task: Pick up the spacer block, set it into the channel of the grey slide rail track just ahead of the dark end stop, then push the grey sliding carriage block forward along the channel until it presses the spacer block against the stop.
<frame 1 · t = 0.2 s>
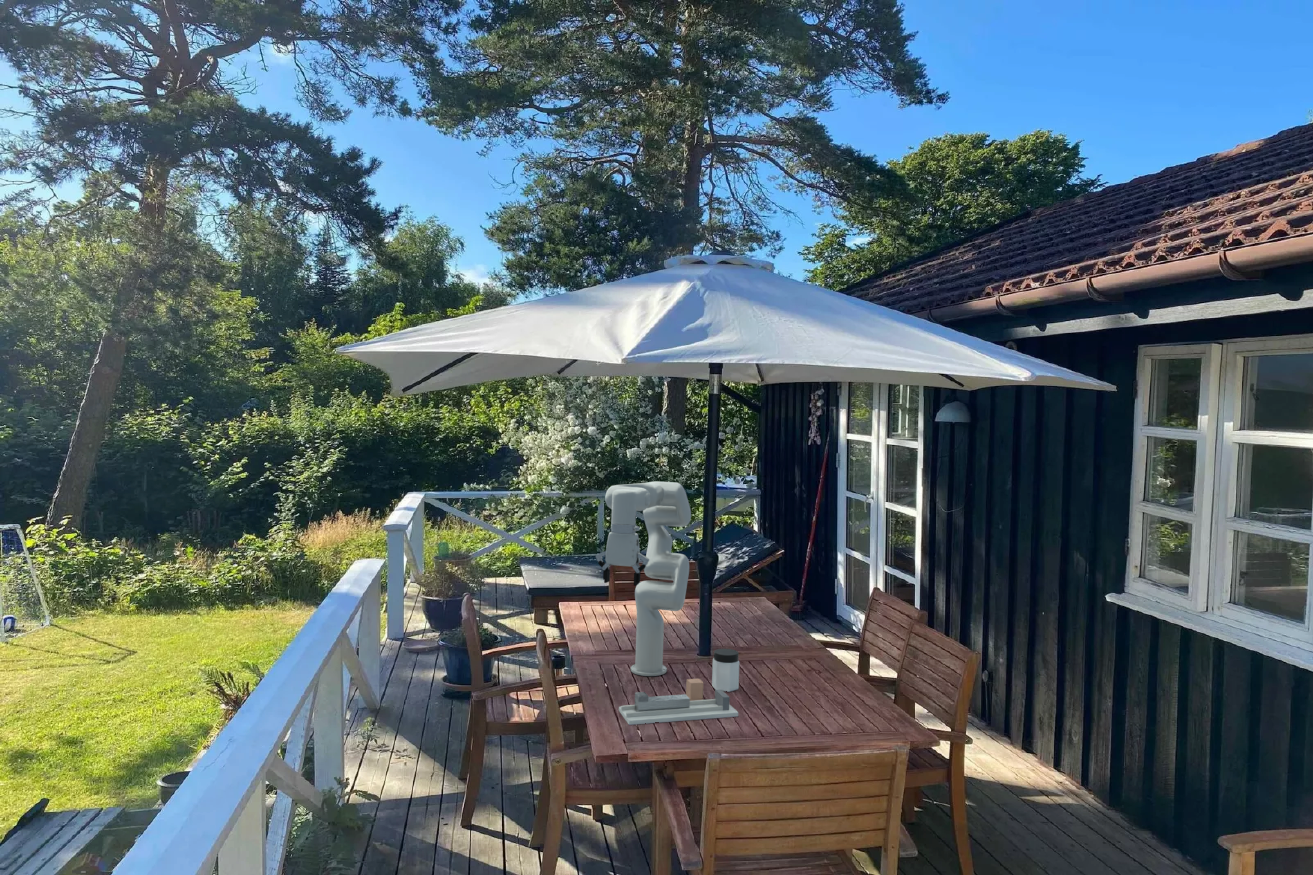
hand: (621, 583, 268), 37 cm above the table, tool pointing down, fingers open, 9 cm apart
jar: (725, 688, 285), on the table
grey sliding carriage block: (662, 701, 258), point 4 cm above the table, slide at 0.0 cm
spacer: (694, 699, 272), on the table
grey slide rail track: (678, 713, 259), on the table
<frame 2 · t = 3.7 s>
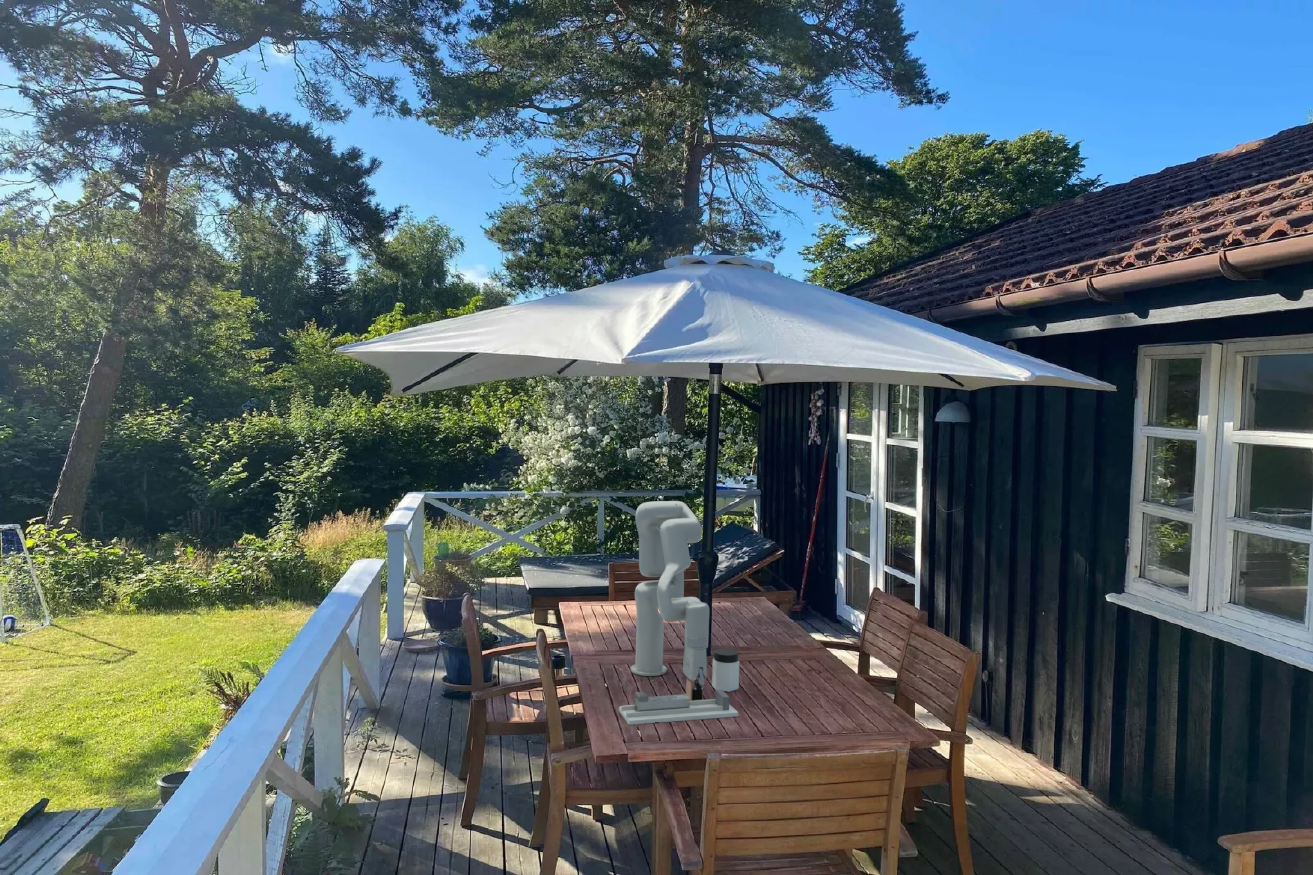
hand: (694, 698, 272), 0 cm above the table, tool pointing down, fingers closed on spacer, 4 cm apart
spacer: (694, 699, 272), on the table, touching gripper
everything else where it was.
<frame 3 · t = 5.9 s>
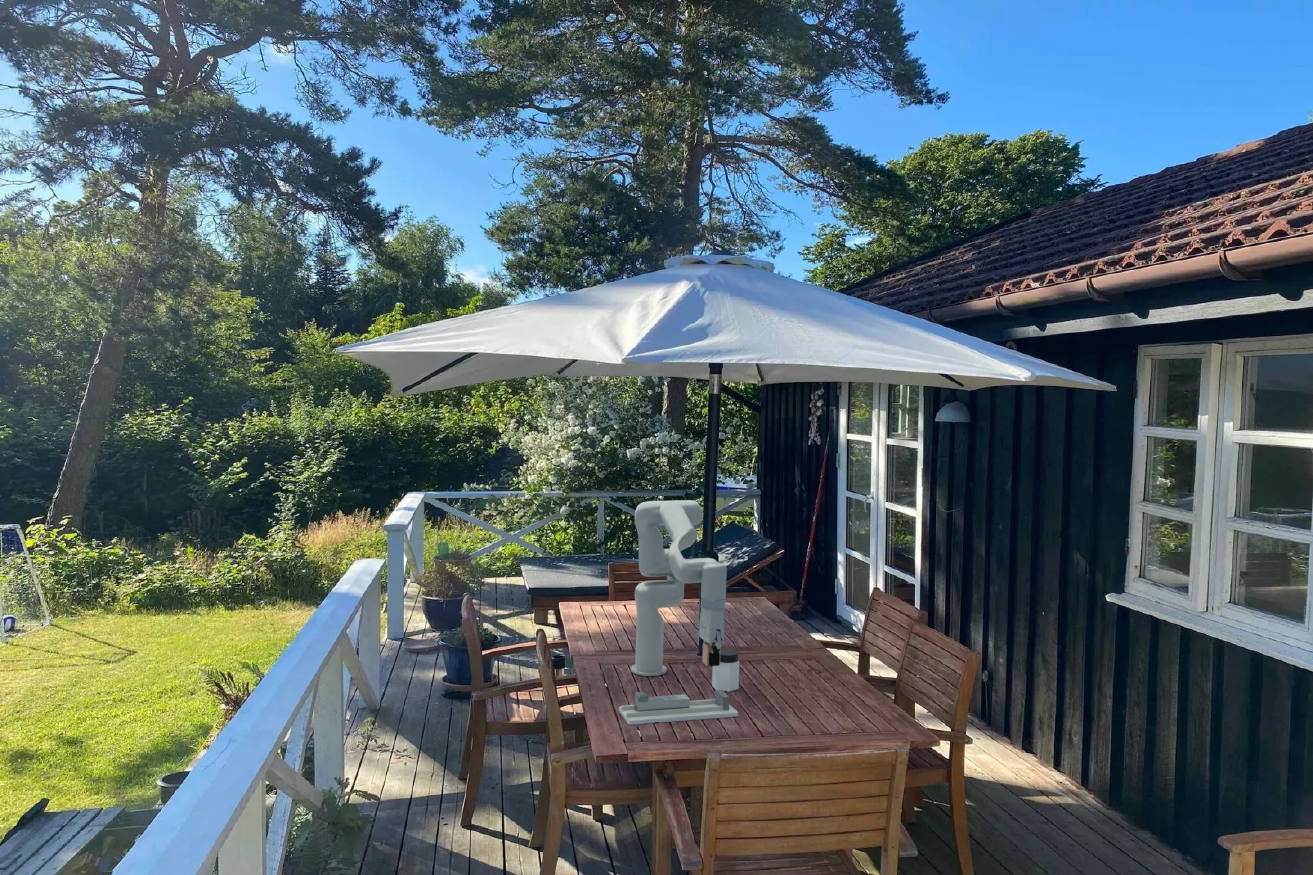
hand: (711, 662, 262), 15 cm above the table, tool pointing down, fingers closed on spacer, 4 cm apart
spacer: (711, 663, 262), point 15 cm above the table, touching gripper
everything else where it was.
when the fingers open (3 cm above the table, at t = 7.9 s): spacer drops 1 cm, resting on grey slide rail track.
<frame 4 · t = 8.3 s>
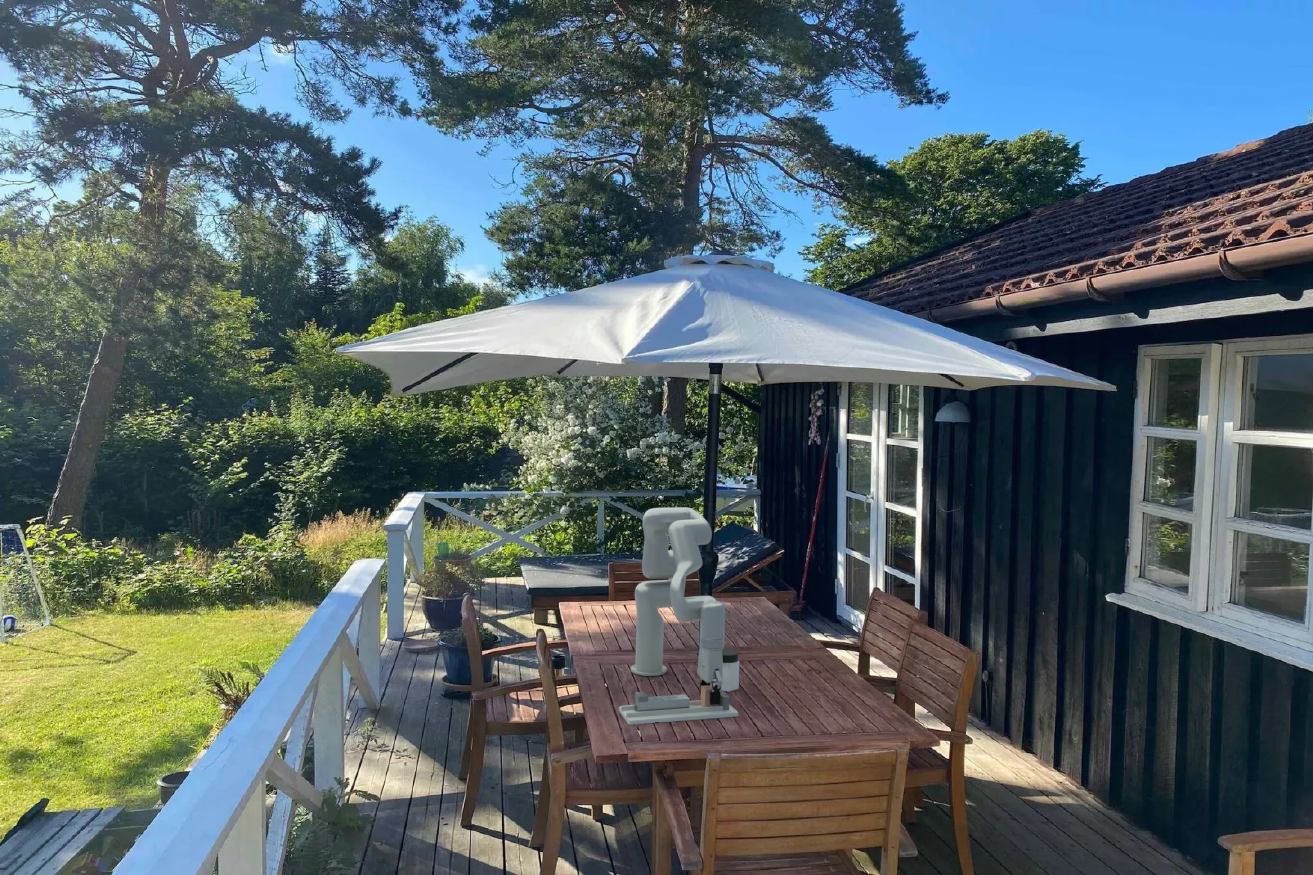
hand: (709, 699, 262), 4 cm above the table, tool pointing down, fingers open, 8 cm apart
spacer: (709, 707, 262), point 1 cm above the table, touching grey slide rail track
everything else where it was.
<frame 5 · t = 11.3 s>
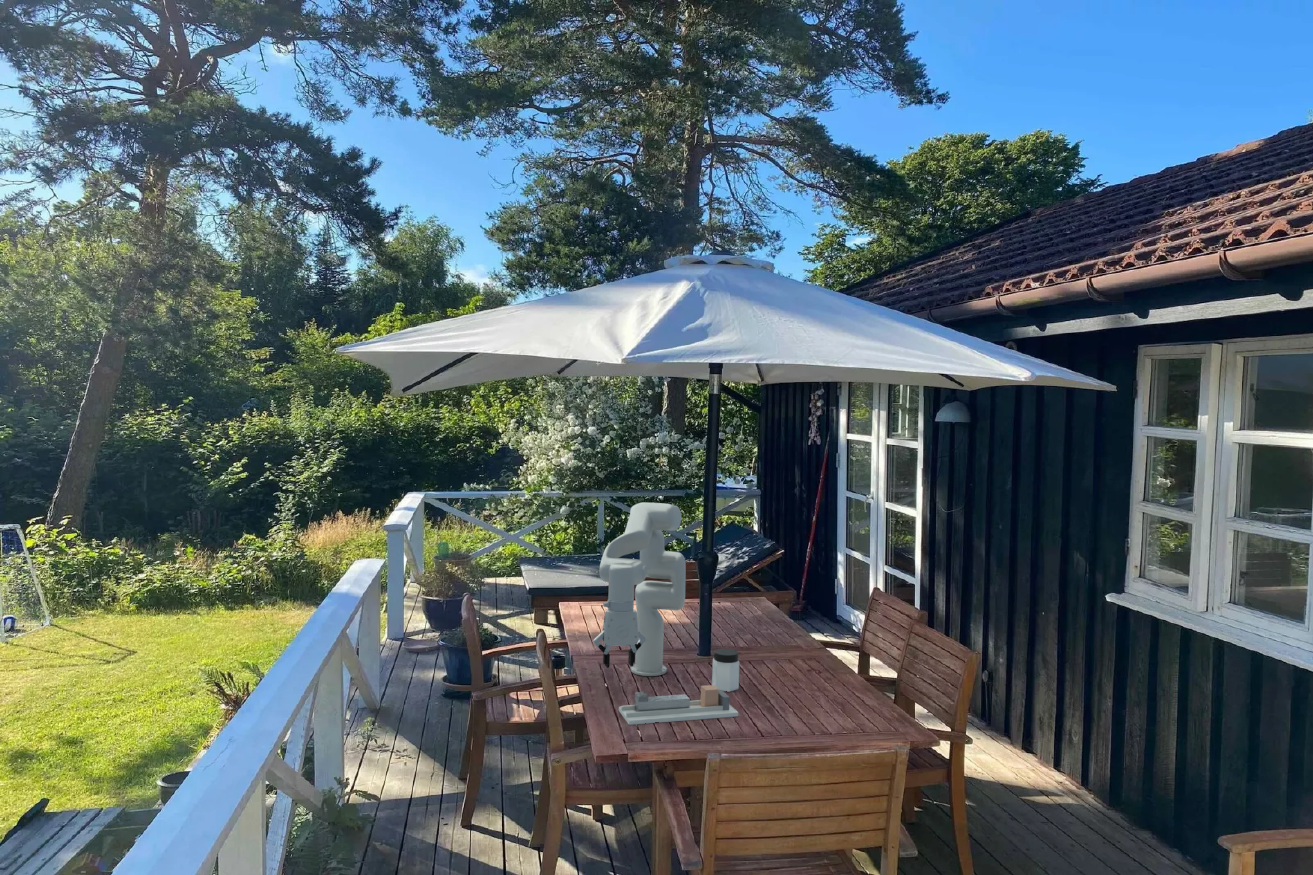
hand: (618, 665, 253), 16 cm above the table, tool pointing down, fingers open, 6 cm apart
nothing on the table moved.
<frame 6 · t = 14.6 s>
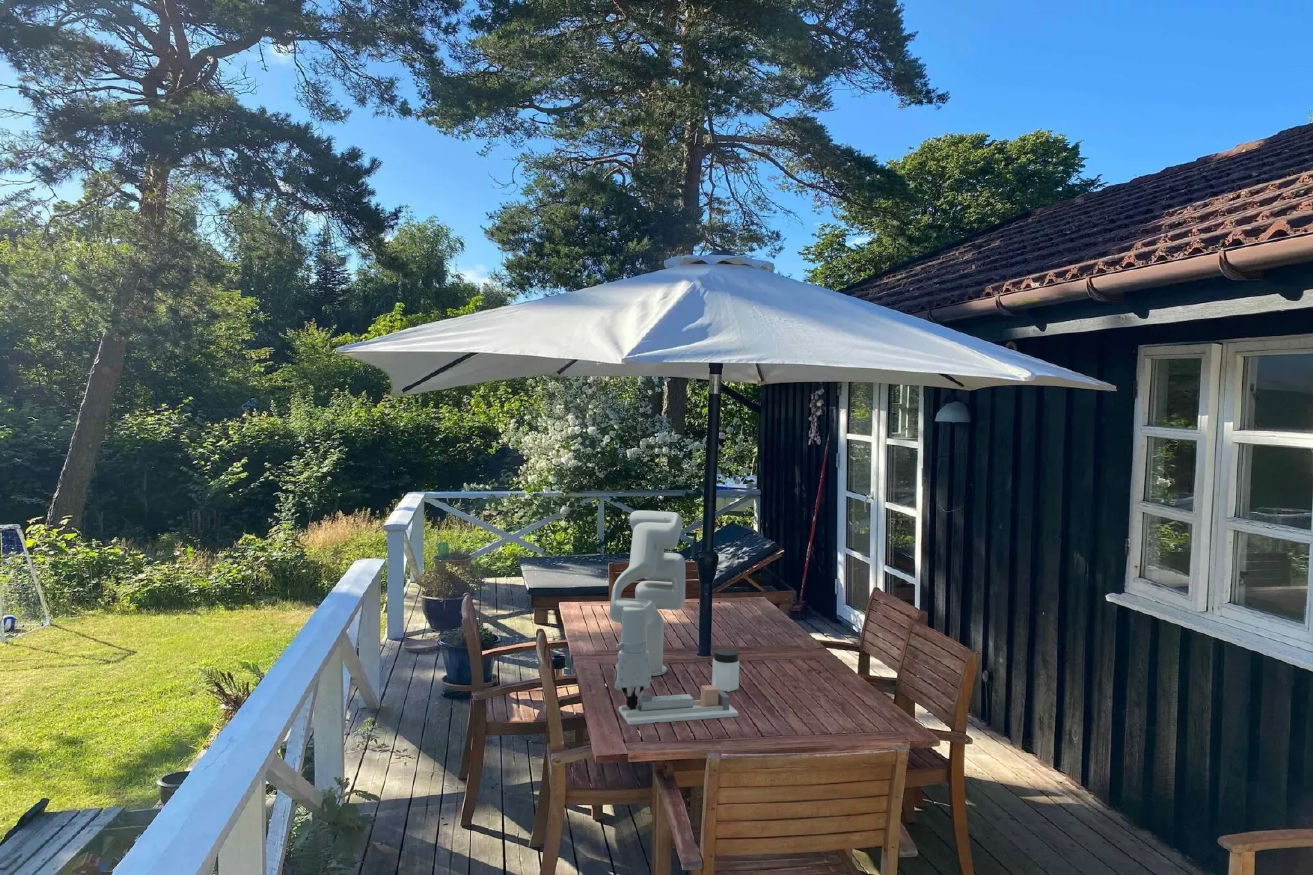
hand: (631, 708, 255), 3 cm above the table, tool pointing down, fingers closed
grey sliding carriage block: (665, 701, 258), point 4 cm above the table, slide at 1.2 cm, touching gripper
everything else where it was.
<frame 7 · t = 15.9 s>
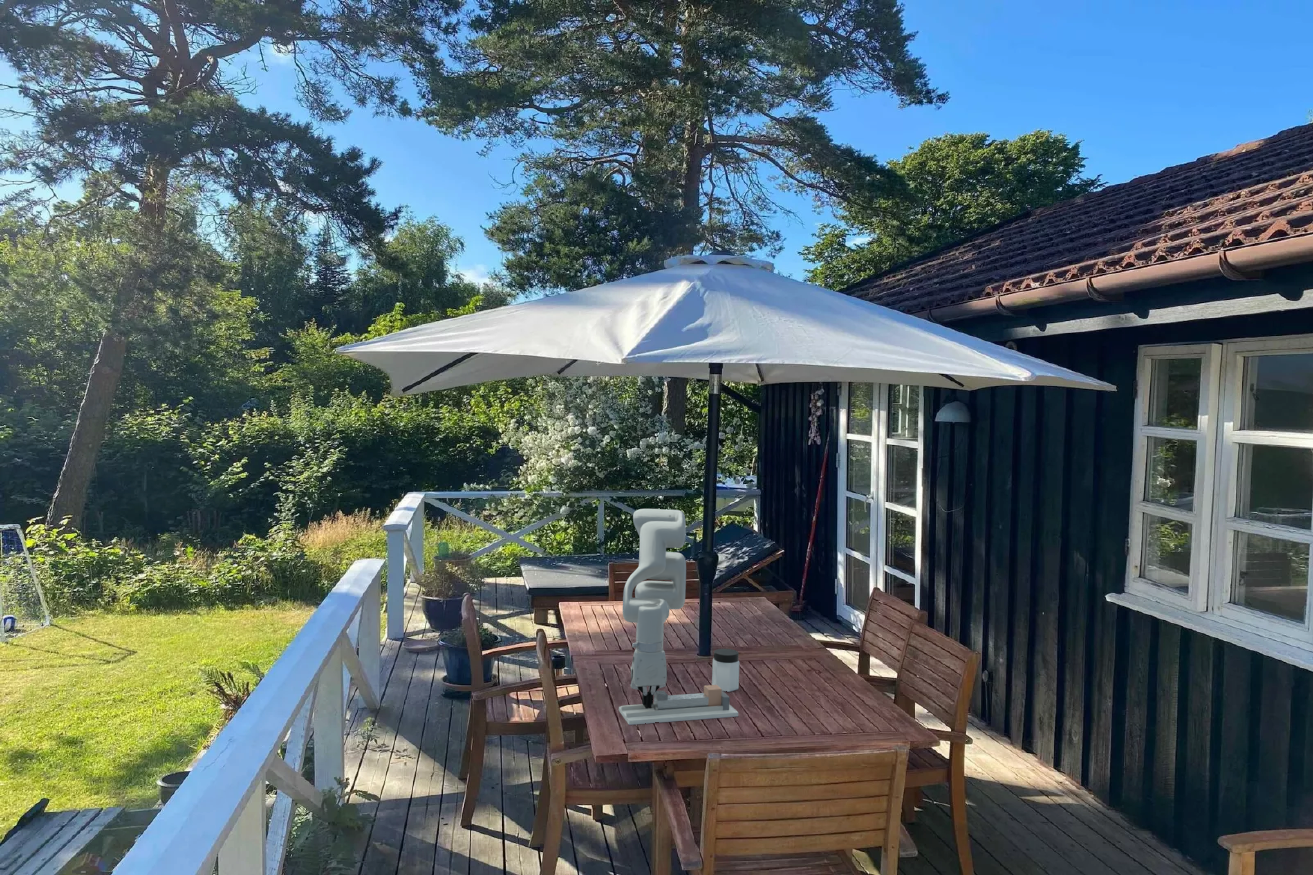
hand: (647, 706, 256), 3 cm above the table, tool pointing down, fingers closed
grey sliding carriage block: (681, 700, 259), point 4 cm above the table, slide at 6.0 cm, touching gripper, spacer
spacer: (712, 706, 263), point 1 cm above the table, touching grey slide rail track, grey sliding carriage block
everything else where it was.
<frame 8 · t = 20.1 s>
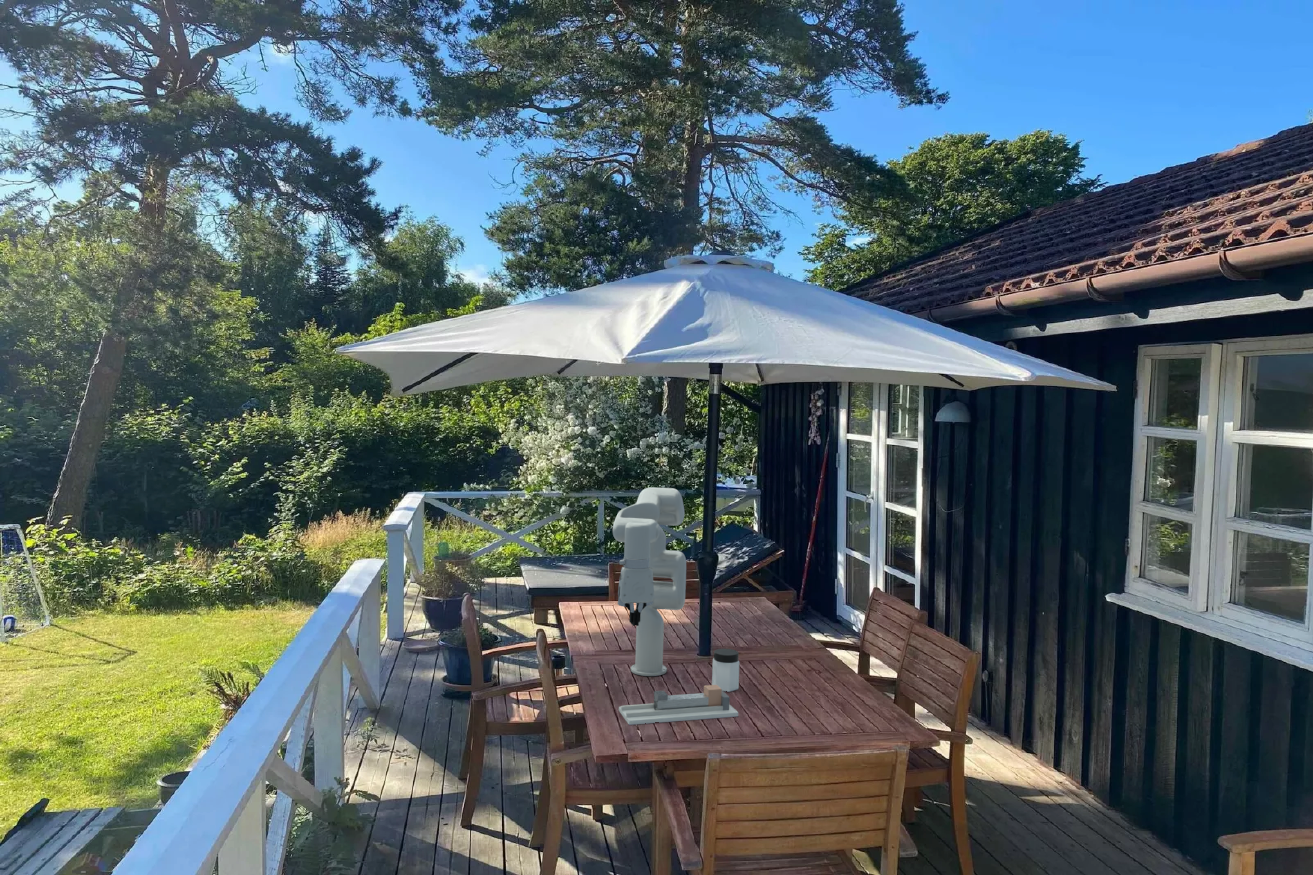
hand: (634, 624, 256), 27 cm above the table, tool pointing down, fingers closed
grey sliding carriage block: (681, 700, 259), point 4 cm above the table, slide at 6.0 cm
spacer: (712, 706, 263), point 1 cm above the table, touching grey slide rail track
everything else where it was.
at the end: spacer 0.7 cm from the target spot on the grey slide rail track, point 1.2 cm above the grey slide rail track's base; spacer tilted 0°; grey sliding carriage block slide at 6.0 cm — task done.
